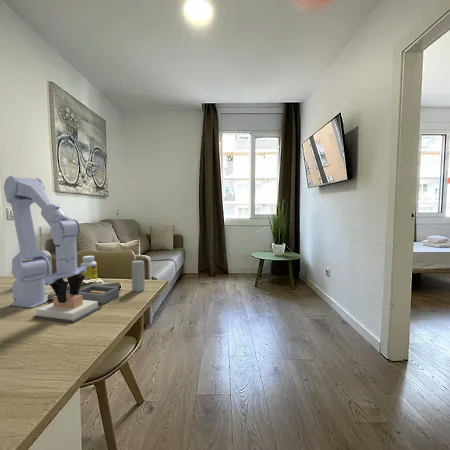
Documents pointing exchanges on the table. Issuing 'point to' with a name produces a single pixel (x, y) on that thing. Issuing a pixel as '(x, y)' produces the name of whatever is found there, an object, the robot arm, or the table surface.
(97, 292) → the storage box
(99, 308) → the mat
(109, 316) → the table surface
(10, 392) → the table surface
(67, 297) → the lid
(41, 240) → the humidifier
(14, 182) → the robot arm
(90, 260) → the pill bottle
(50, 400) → the table surface
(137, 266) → the beverage can
